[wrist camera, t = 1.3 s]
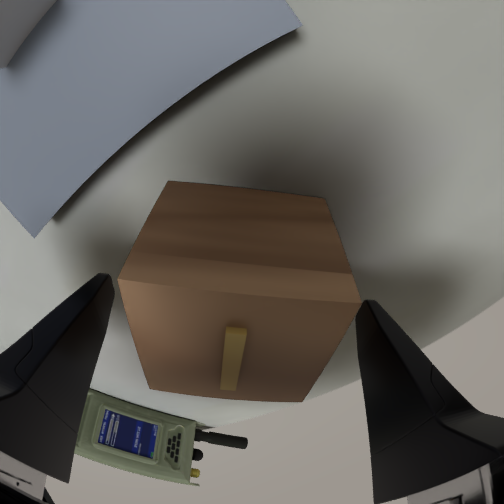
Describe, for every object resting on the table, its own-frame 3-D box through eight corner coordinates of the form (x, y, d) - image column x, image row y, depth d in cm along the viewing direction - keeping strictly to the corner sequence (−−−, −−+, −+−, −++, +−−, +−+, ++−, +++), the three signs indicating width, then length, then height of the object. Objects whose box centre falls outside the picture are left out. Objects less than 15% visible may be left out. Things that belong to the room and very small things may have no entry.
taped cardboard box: (168, 180, 10) (114, 284, 6) (324, 198, 11) (364, 309, 7) (172, 292, 14) (148, 393, 10) (292, 304, 14) (302, 406, 10)
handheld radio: (5, 343, 19) (254, 428, 26) (13, 358, 21) (240, 435, 28) (-20, 404, 14) (252, 490, 21) (-9, 413, 16) (237, 491, 23)
